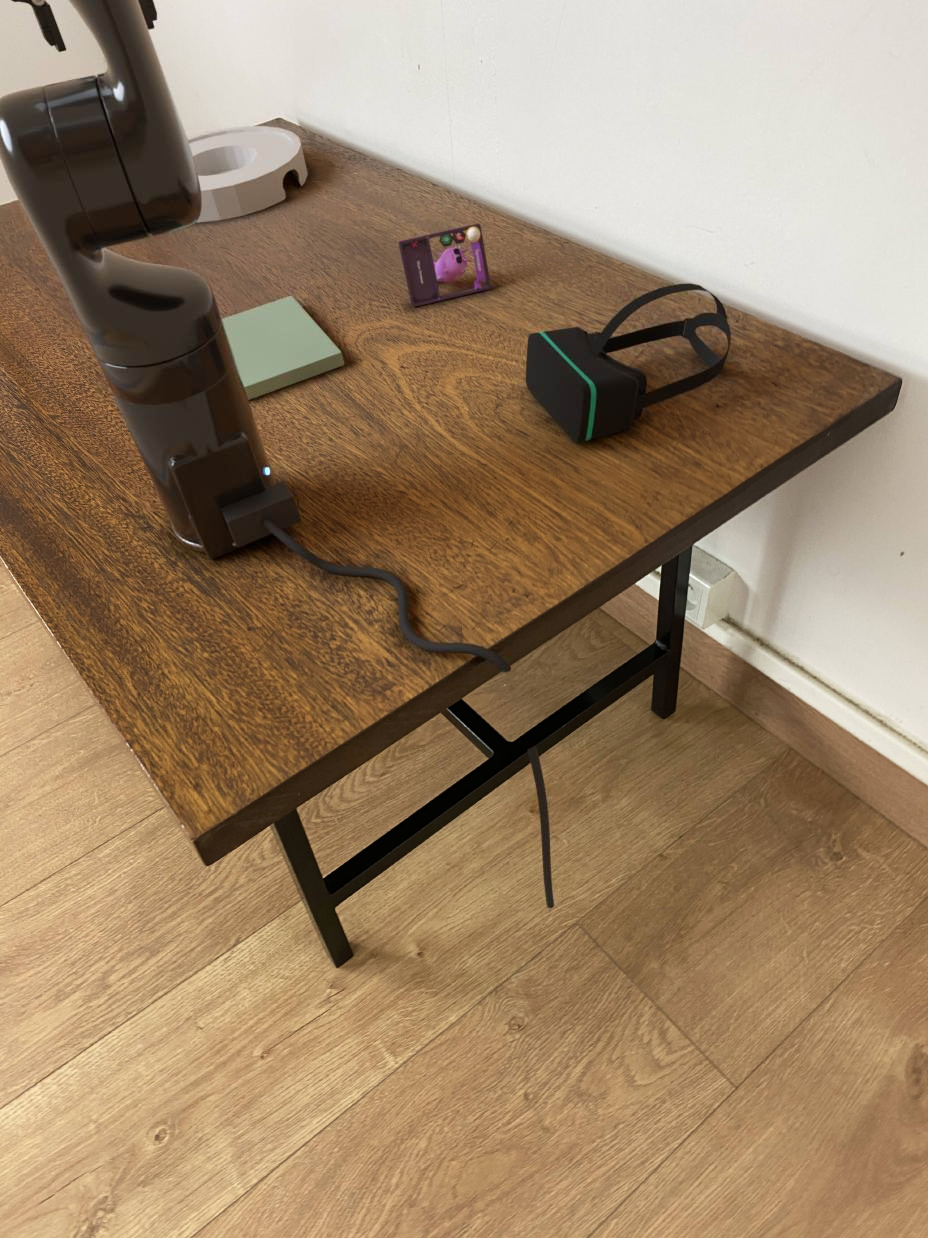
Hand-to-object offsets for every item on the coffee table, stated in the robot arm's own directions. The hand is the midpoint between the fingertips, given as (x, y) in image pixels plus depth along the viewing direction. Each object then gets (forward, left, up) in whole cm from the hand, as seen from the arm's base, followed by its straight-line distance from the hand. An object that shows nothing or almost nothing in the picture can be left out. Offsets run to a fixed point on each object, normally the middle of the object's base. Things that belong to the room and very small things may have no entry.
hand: (106, 38), depth 86 cm
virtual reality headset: (-46, -29, -27) cm, 61 cm away
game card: (-17, -24, -27) cm, 40 cm away
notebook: (-17, -3, -27) cm, 32 cm away
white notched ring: (+31, -13, -27) cm, 43 cm away
